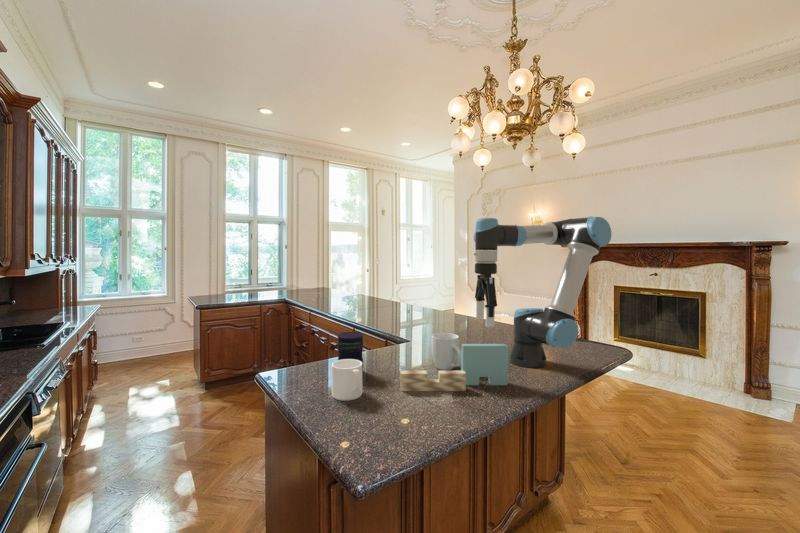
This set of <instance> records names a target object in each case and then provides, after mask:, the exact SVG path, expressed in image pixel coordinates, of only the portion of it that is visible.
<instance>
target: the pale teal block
mask: <svg viewBox="0 0 800 533" xmlns="http://www.w3.org/2000/svg"><path fill="white" fill-rule="evenodd" d="M460 350H461V364H460V370H464V371H465V373H466V386H480V378H488V383H489V385H490V386H508V383H509V382H508V381H509V375H508V374H509V345H508V344H507V343H461V348H460Z"/></svg>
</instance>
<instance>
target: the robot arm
mask: <svg viewBox="0 0 800 533" xmlns="http://www.w3.org/2000/svg"><path fill="white" fill-rule="evenodd" d="M611 240H612V228H611V225H610V223H609V222H608V220H606V219H605V218H604V217H602V216H588V217H578V218H568V219H562V220H558V221H550V222H546V223H543V224H539V225H537V224H536V225H517V224H499V220H498V219H497V218H493V217H484V218H483V217H481V218H478V219H477V220H476V223H475V229H474V233H473V242H474V243H475V244H474V245H475V246H474V248H475V249H474V250H475V251H474V253H473V256H475V258H474V260H475V263H474V273H475V274H477V281H476V286H475V287H476V288H475V293H474V298H475V301H476V307H475V308H476V310H475V313H476V314H475V319H476V320H478V319H479V320H482V319H483V320H484V318H485V327H486V328H487V327H489V328H492V327H495V316H496V315H495V313H496V311H495V309H496V307H497V306H498V302H497V301H498V300H497V292H496V285H495V284H496V283H495V282H496V281H495V280H496V278H495V277H492V275H496V274H497V272H498V264H497V263H496V262H498V247H520V246H523V245H530V244H531V245H533V244H545V245H548V246H551V245H553V246H565V247H567V248H568V250H569V251H568V254H567V257H566V260H565V264H564V266H563V268H562V271H561V274H560V276H559V279H558V283H557V284H556V289H555V290H554V292H553V293H554V294H553V296H552V300H551V302H550V304H549V305H548V306H545V307H544V309H543V308H542V307H541V308H539V307H538V308H537V307H534V308H533V307H528V308H516V309H515V311H514V316H513V344H512V346H511V349H510V352H509V353H508V362H510V363H511V364H513V365H516V366H519V367H524V368H534V369H535V368H542V367H543V368H544V367H545V366H547V364H548V363H547V362H548V359H547V355H546V353H545V348H544V345H547V346H550V347H552V348H558V349H567V348H568V347H570V346H572V345H573V344H574V343H575V342H576V341H577V338H578V336H579V329H578V328H579V326H578V323H577V322H576V319H577V317H576V315H575V314H574V312H575V309H576V307H577V306H576V305H577V304H578V300H579V297H580V294H581V291H582V288H583V285H584V282H585V280H586V277H587V274H588V271H589V268H590V265H591V262H592V259H593V257H594V256H596V255H599V253H600V249H601V247H605V246H607V245H609V243H610V242H611ZM485 302H486V304H485Z"/></svg>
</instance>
